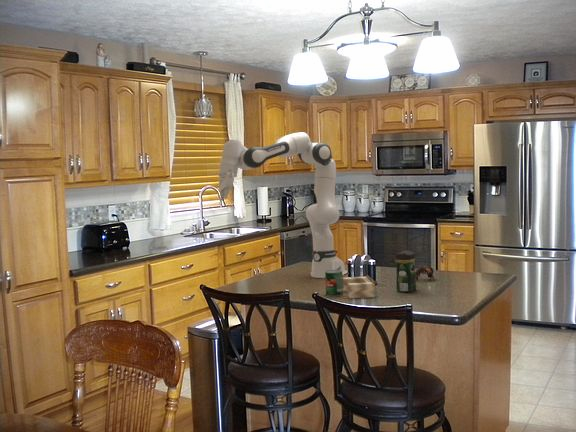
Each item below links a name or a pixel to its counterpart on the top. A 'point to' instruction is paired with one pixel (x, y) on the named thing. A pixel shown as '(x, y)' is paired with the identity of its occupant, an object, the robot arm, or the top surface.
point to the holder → (359, 287)
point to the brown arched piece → (424, 271)
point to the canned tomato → (334, 283)
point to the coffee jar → (405, 271)
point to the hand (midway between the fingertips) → (223, 199)
